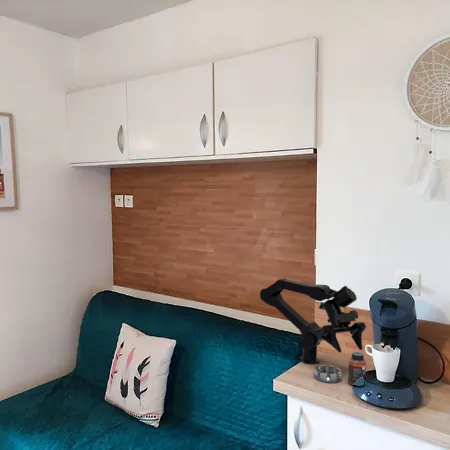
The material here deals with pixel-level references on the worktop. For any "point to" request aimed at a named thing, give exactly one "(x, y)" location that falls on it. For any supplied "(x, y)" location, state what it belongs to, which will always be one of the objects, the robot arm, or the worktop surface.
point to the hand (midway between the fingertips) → (351, 350)
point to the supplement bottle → (356, 367)
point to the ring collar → (327, 374)
